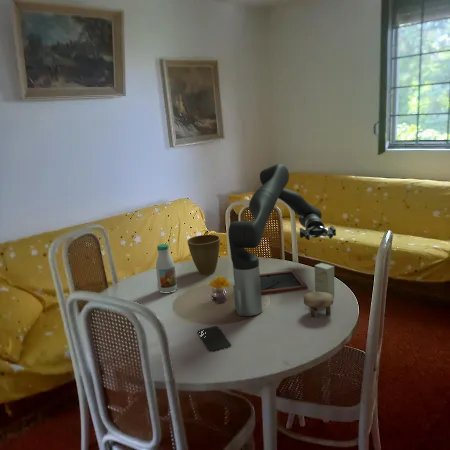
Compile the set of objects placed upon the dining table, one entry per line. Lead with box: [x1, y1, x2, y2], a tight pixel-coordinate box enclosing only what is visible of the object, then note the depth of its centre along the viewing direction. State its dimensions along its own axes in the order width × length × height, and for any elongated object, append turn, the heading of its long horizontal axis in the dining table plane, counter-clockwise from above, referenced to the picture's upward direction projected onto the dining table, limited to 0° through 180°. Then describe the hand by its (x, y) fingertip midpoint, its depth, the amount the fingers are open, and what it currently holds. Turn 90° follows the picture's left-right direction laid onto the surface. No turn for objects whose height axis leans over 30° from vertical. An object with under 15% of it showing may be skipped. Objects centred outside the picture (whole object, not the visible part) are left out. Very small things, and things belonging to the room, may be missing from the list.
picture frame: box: [260, 269, 308, 296], centre depth 184 cm, size 20×2×25 cm
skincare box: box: [314, 262, 335, 298], centre depth 166 cm, size 6×4×12 cm
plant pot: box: [186, 234, 221, 276], centre depth 203 cm, size 15×15×16 cm
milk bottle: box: [155, 243, 178, 292], centre depth 184 cm, size 8×8×20 cm
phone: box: [197, 325, 232, 352], centre depth 143 cm, size 7×1×15 cm
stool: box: [302, 291, 334, 319], centre depth 153 cm, size 10×10×6 cm
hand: (319, 236), depth 174 cm, fingers open, 8 cm apart
